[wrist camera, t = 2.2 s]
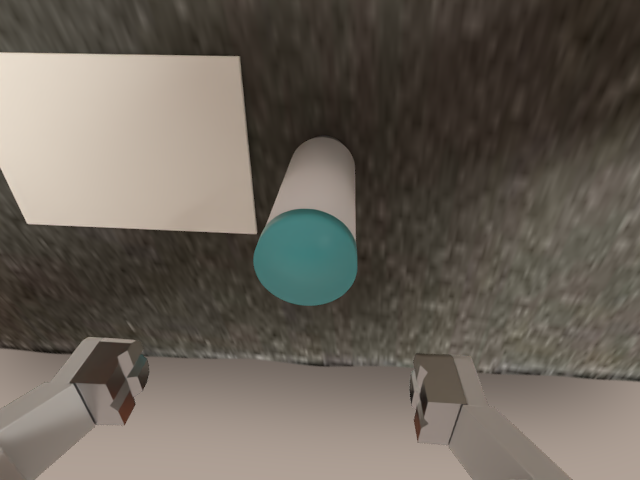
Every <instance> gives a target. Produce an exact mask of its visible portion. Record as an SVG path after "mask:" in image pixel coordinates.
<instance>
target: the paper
mask: <svg viewBox="0 0 640 480" xmlns="http://www.w3.org/2000/svg"><path fill="white" fill-rule="evenodd" d="M0 168H1V170H2V172H3V174H4V176H5V179H6V181H7V183H8V185H9V187H10V189H11V191H12V193H13V195H14V197H15V199H16V202H17V204H18V206H19V208H20V210H21V212H22V214H23V216H24V218H25V220H26V222H27V224H40V225H62V226H84V227H107V228H129V229H152V230H174V231H197V232H219V233H242V234H257V223H256V213H255V203H254V193H253V183H252V173H251V163H250V153H249V143H248V132H247V122H246V112H245V102H244V92H243V82H242V72H241V62H240V56H202V55H139V54H76V53H14V52H0Z"/></svg>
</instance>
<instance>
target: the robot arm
mask: <svg viewBox="0 0 640 480" xmlns="http://www.w3.org/2000/svg"><path fill="white" fill-rule="evenodd" d="M143 349H144V348H143V346H142V343H141V341H138V340H128V339H114V338H98V337H88V338H86V339H84V340H83V341H82V342H81V343H80V344H79V346H78V347H77V348H76V350H75V351H74V352H73V353H72V355H71V356H70V357H69V358H68V360H67V361H66V362H65V364H64V365H63V366H62V367H61V369H60V370H59V371H58V373H57V374H56V375H55V376H54V378H53V379H52V380H51V382H44V383H43V384H41V385H39V386H38V387H36V388H34V389H33V390H31V391H29V392H28V393H26V394H24V395H23V396H21V397H19V398H18V399H16V400H14V401H13V402H11V403H9V404H8V405H6V406H4V407H3V408H1V409H0V480H35V479H36V478H37V477H38V476H39V475H40V474H41V473H43V472H44V471H45V470H46V469H47V468H48V467H49V466H51V465H52V464H53V463H54V462H55V461H56V460H57V459H59V458H60V457H61V456H62V455H63V454H64V453H65V452H67V451H68V450H69V449H70V448H71V447H72V446H73V445H75V444H76V443H77V442H78V441H79V440H80V439H81V438H83V437H84V436H85V435H86V434H87V433H88V432H89V431H91V430H92V429H93V428H94V427H95V425H125V424H126V421H127V420H128V418H129V416H130V414H131V412H132V410H133V408H134V406H135V399H134V397H135V396H136V395H138V394H139V393H140V392H142V391H143V389H144V387H145V385H146V383H147V380H148V376H149V363H148V360H147V358H145V357H144V356H143V355H142V354H141V352H142V351H143ZM413 364H414V371H412V372H411V375H410V386H409V388H410V389H409V391H410V400H411V406H412V407H413V408H414V409H415V410H416V412H415V416H414V425H415V430H416V436H417V441H418V443H427V444H438V445H449V448H450V450H451V451H452V452H453V454H454V455H455V457H456V458H457V459H458V461H459V462H460V463H461V464H462V466H463V467H464V469H465V470H466V471H467V473H468V474H469V475H470V477H471V478H472V479H473V480H572V479H571V478H570V477H569V476H568V475H567V474H566V473H565V472H564V471H563V470H562V469H561V468H560V467H558V466H557V465H556V464H555V463H554V462H553V461H552V460H551V459H550V458H549V457H548V456H547V455H546V454H544V453H543V452H542V451H541V450H540V449H539V448H538V447H537V446H536V445H535V444H534V443H533V442H532V441H531V440H530V439H528V438H527V437H526V436H525V435H524V434H523V433H522V432H521V431H520V430H519V429H518V428H517V427H516V426H515V425H514V424H512V423H511V422H510V421H509V420H508V419H507V418H506V417H505V416H504V415H503V414H502V413H501V412H499V410H497V409H496V408H495V407H492V406H489V405H488V402H487V399H486V397H485V394H484V391H483V388H482V386H481V383H480V380H479V378H478V375H477V372H476V369H475V366H474V364H473V361H472V358H471V357H470V356H466V355H449V354H422V353H416V354H415V356H414V360H413Z"/></svg>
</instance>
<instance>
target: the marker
mask: <svg viewBox="0 0 640 480" xmlns="http://www.w3.org/2000/svg"><path fill="white" fill-rule="evenodd" d="M253 262H254V269H255V272H256V275H257V277H258V279H259V280H260V282H261V283H262V285H263V286H264V287H265V288H266V289H267V290H268V291H269V292H270V293H272V294H273V295H275V296H276V297H278V298H280V299H282V300H284V301H286V302H289V303H293V304H297V305H305V306H314V305H321V304H326V303H329V302H331V301H334V300H336V299H338V298H339V297H341V296H342V295H343V294H345V293H346V292H347V291H348V290H349V288H350V287H351V286H352V284H353V282H354V280H355V278H356V274H357V246H356V215H355V163H354V159H353V157H352V155H351V153H350V151H349V150H348V149H347V148H346V147H345V146H344V145H343V144H342V143H341V142H340V141H339V140H338V139H336V138H334V137H332V136H328V135H321V136H317V137H314V138H312V139H310V140H307V141H305V142H304V143H302V144H301V145H300V146H299V147H298V148H297V149H296V151H295V152H294V154H293V156H292V158H291V161H290V164H289V166H288V169H287V171H286V174H285V177H284V179H283V182H282V184H281V187H280V190H279V192H278V195H277V197H276V200H275V203H274V205H273V208H272V211H271V213H270V216H269V218H268V221H267V224H266V226H265V228H264V229H263V231H262V233H261V236H260V238H259V241H258V243H257V246H256V249H255V252H254V258H253Z"/></svg>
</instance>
